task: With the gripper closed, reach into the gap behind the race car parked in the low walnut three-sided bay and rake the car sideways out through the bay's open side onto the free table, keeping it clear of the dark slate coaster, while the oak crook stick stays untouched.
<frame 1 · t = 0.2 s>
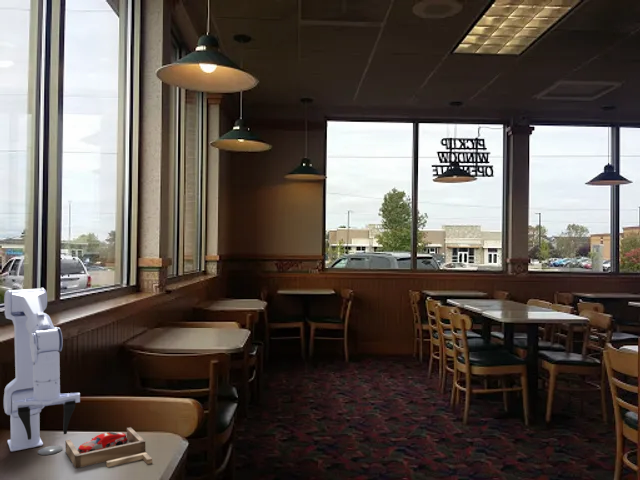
hand: (47, 435, 134), 10 cm above the table, tool pointing down, fingers open, 7 cm apart
oak crook stick: (127, 462, 143), on the table
race car: (102, 450, 152), on the table
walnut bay: (105, 452, 150), on the table
slate coaster: (50, 450, 151), on the table
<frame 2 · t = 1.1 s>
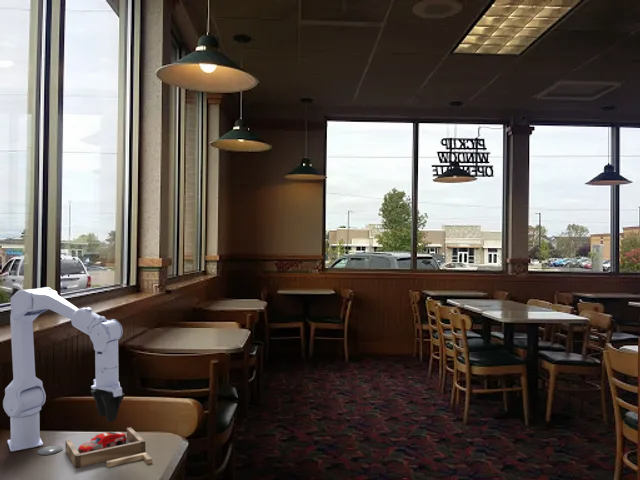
hand: (107, 418, 147), 10 cm above the table, tool pointing down, fingers open, 5 cm apart
nothing on the table moved.
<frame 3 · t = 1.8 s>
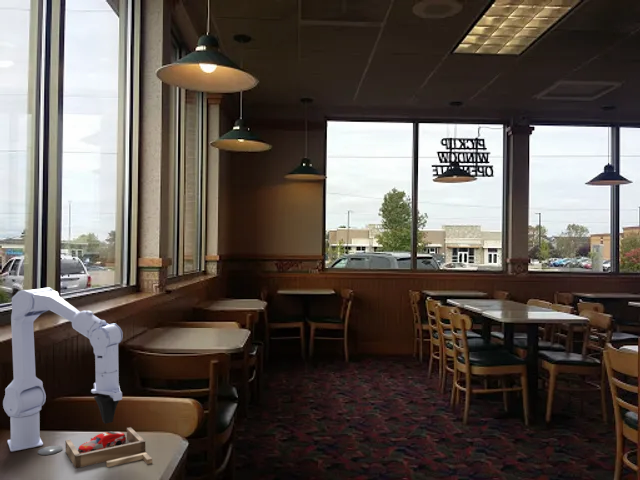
hand: (107, 422, 147), 9 cm above the table, tool pointing down, fingers closed
nothing on the table moved.
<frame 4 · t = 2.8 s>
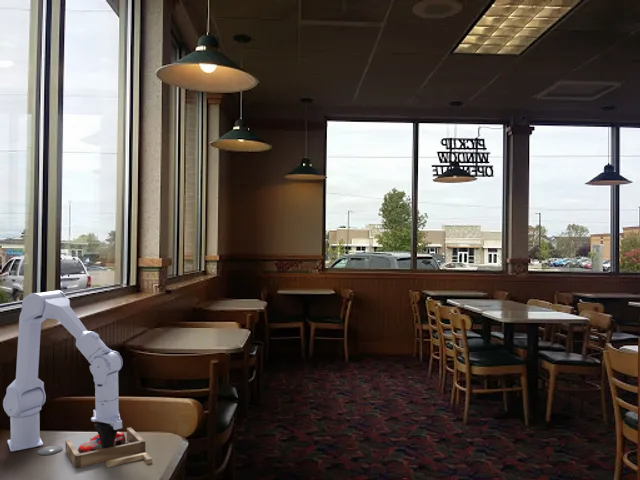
hand: (107, 449, 148), 1 cm above the table, tool pointing down, fingers closed
nothing on the table moved.
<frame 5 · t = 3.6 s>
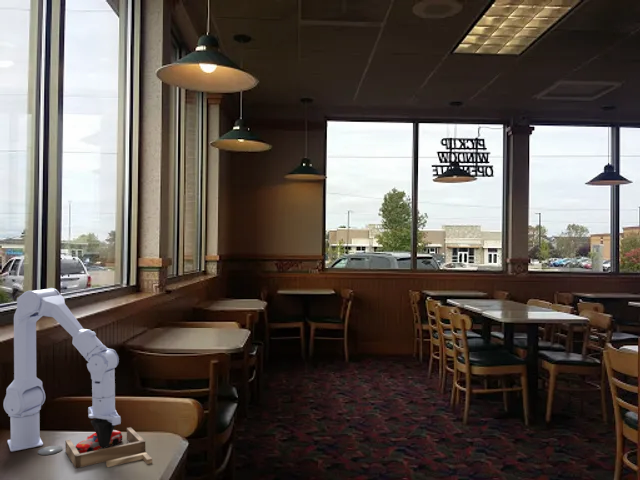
hand: (104, 445, 151), 1 cm above the table, tool pointing down, fingers closed
race car: (98, 448, 154), on the table, touching gripper
everything else where it was.
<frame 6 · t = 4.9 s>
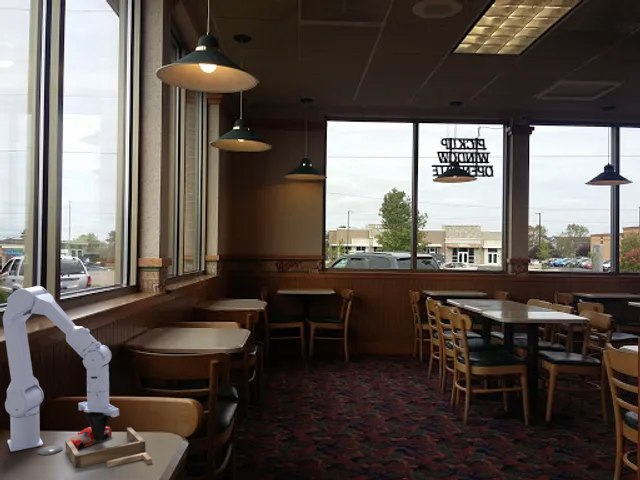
hand: (98, 438, 156), 1 cm above the table, tool pointing down, fingers closed
race car: (89, 443, 158), on the table, touching gripper
everything else where it was.
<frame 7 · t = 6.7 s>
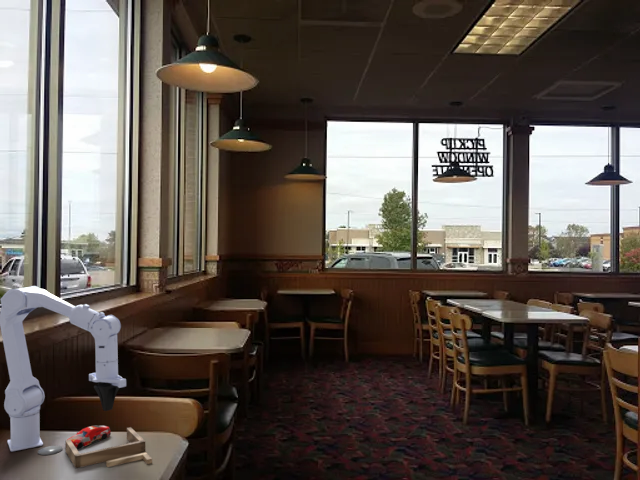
hand: (107, 409, 154), 10 cm above the table, tool pointing down, fingers closed
race car: (88, 443, 158), on the table
everything else where it was.
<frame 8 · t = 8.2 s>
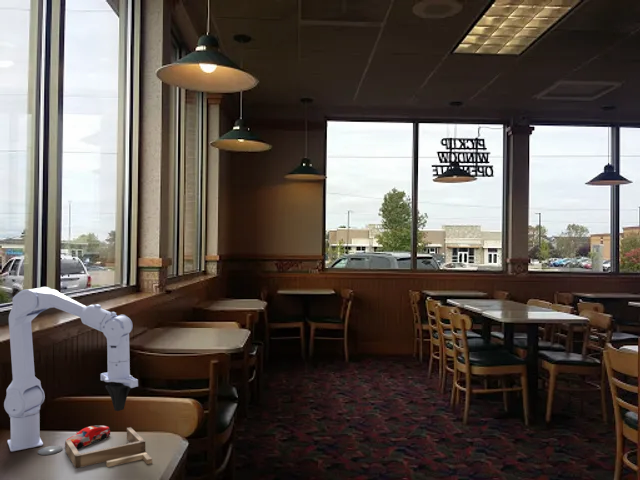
hand: (119, 409, 153), 10 cm above the table, tool pointing down, fingers closed
nothing on the table moved.
at the end: race car inside the target area (2.8 cm from its centre), on the table; race car moved 8.5 cm from its start; race car tilted 0° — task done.
